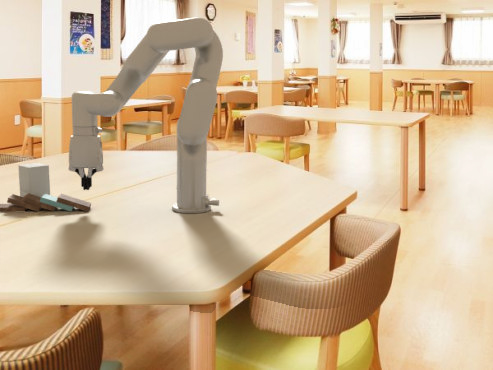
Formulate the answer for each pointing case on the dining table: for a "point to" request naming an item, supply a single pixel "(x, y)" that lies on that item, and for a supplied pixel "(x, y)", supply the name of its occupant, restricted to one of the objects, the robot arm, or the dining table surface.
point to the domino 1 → (11, 208)
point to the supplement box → (34, 179)
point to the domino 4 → (54, 202)
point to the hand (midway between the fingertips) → (86, 189)
